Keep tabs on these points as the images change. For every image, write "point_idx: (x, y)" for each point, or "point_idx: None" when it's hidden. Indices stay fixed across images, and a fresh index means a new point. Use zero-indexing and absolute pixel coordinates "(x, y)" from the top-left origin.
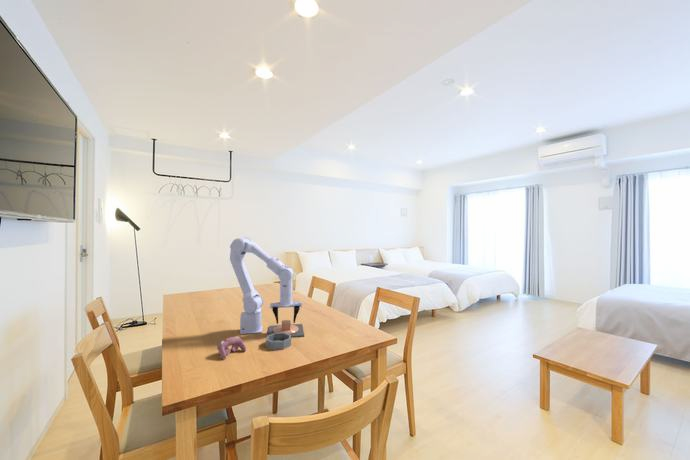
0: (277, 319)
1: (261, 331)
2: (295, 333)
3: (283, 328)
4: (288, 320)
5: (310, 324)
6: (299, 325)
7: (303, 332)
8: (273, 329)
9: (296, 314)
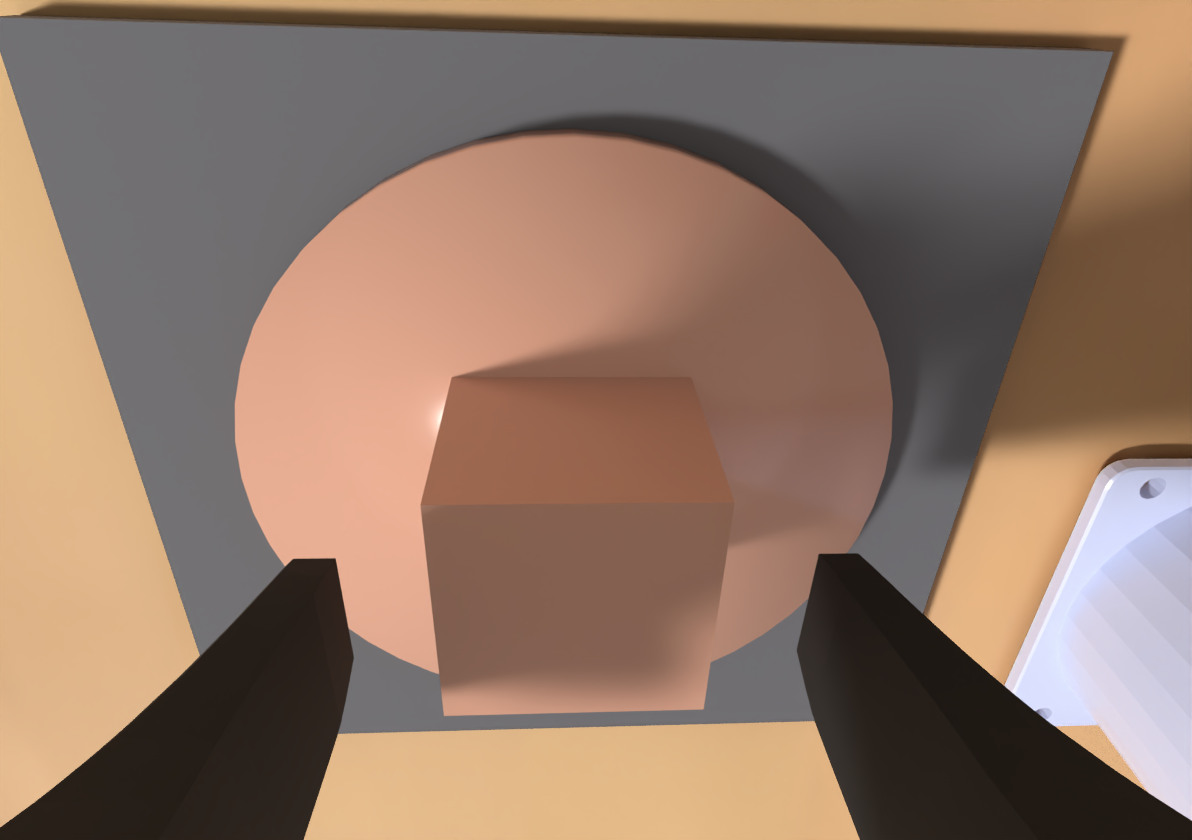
0: (907, 640)
1: (1111, 485)
2: (304, 225)
3: (647, 407)
4: (500, 680)
5: (62, 722)
6: None
7: (75, 257)
8: (875, 486)
9: (57, 802)
